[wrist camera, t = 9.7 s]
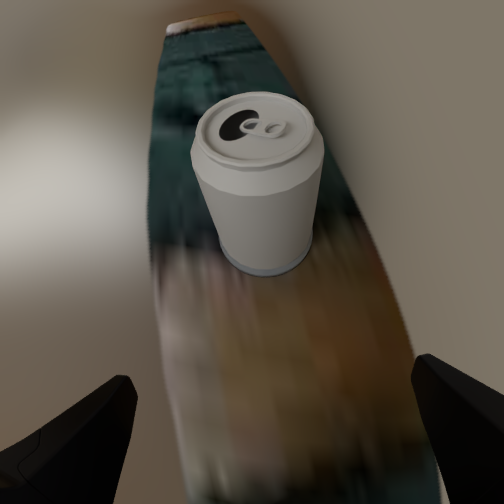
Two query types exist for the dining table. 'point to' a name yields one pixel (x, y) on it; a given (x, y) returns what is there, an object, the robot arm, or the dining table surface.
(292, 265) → the coaster
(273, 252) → the can
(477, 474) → the robot arm
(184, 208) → the dining table surface
